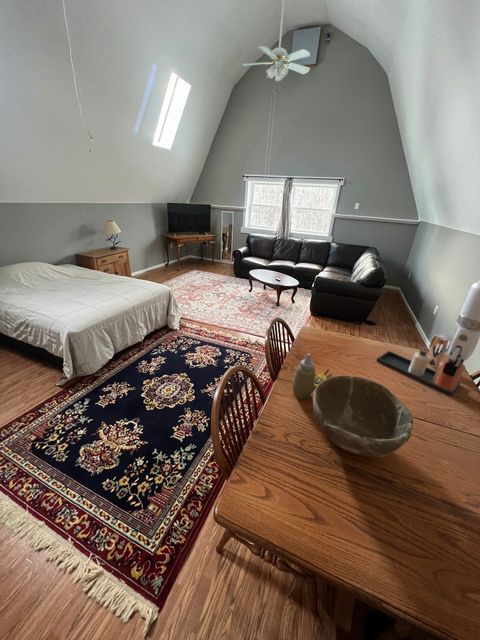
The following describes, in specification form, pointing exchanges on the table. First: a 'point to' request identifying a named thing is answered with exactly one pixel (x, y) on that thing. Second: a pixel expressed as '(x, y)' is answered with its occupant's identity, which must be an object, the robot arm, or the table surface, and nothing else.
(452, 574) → the table surface
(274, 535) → the table surface
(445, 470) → the table surface
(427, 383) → the tray
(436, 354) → the beer glass
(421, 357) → the cream bottle
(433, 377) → the cream bottle
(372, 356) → the table surface
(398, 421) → the bowl
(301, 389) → the squeeze bottle
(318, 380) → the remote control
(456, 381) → the terracotta bottle
